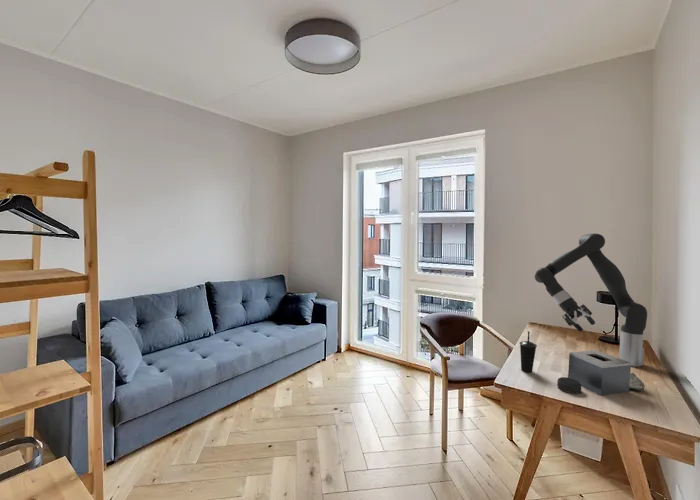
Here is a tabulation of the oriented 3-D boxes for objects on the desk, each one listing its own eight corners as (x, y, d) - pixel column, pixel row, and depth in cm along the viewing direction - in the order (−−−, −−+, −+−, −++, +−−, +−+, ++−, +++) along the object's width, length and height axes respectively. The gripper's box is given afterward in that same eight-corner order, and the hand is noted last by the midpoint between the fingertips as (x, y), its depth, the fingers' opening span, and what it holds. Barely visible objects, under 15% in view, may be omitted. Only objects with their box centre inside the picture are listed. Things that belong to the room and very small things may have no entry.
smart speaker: (554, 389, 148) (555, 380, 148) (560, 383, 155) (560, 374, 154) (578, 396, 142) (578, 387, 142) (583, 390, 148) (583, 381, 148)
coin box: (594, 376, 163) (595, 350, 162) (628, 391, 147) (631, 362, 147) (567, 379, 159) (569, 352, 158) (600, 395, 143) (602, 365, 142)
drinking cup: (533, 369, 170) (535, 330, 169) (536, 375, 163) (539, 334, 161) (517, 366, 172) (519, 328, 171) (519, 372, 165) (521, 332, 164)
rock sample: (609, 374, 156) (628, 365, 153) (617, 382, 158) (636, 374, 155) (623, 393, 147) (644, 384, 144) (632, 402, 149) (652, 393, 146)
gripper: (558, 302, 171) (582, 330, 163) (578, 292, 175) (602, 319, 167) (550, 308, 177) (573, 335, 170) (569, 298, 181) (592, 324, 174)
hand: (587, 327), depth 169 cm, fingers open, 8 cm apart
